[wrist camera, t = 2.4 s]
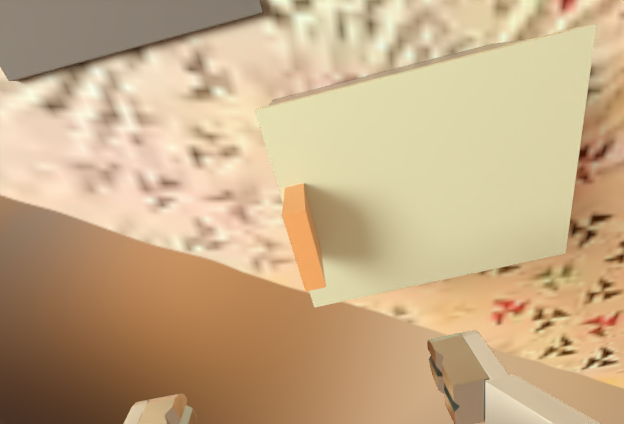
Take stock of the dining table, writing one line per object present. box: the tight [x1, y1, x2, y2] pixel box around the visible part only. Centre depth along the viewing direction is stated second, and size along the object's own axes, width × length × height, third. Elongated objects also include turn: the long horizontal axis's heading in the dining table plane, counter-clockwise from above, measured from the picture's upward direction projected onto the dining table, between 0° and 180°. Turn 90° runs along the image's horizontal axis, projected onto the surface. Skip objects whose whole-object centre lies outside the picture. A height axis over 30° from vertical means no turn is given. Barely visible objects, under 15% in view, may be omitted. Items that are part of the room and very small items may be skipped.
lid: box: [255, 24, 597, 307], centre depth 19 cm, size 19×15×6 cm
